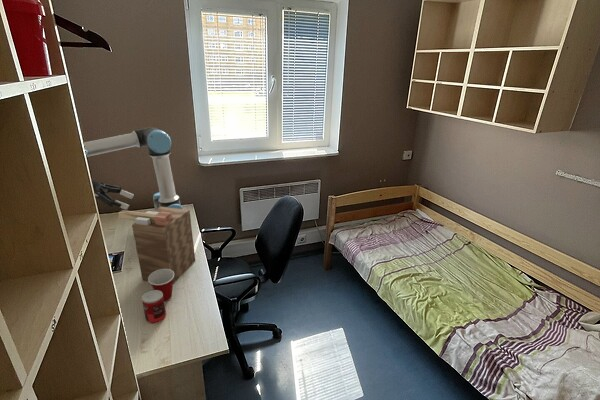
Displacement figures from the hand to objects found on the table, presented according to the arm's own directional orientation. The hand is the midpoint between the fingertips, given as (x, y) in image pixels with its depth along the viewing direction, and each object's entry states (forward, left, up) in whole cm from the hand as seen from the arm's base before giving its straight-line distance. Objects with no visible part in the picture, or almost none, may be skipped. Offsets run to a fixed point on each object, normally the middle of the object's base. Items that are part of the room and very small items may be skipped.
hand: (130, 202), depth 173 cm
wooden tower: (+12, +27, -30) cm, 42 cm away
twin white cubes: (+17, +23, 0) cm, 29 cm away
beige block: (+17, +21, 0) cm, 27 cm away
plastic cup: (+32, +37, -30) cm, 58 cm away
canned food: (+44, +40, -30) cm, 67 cm away
